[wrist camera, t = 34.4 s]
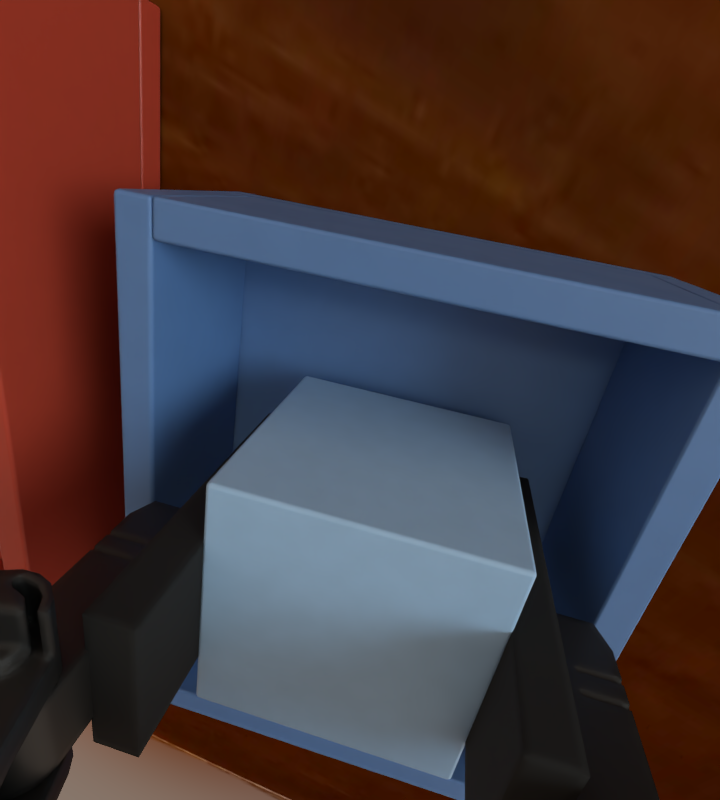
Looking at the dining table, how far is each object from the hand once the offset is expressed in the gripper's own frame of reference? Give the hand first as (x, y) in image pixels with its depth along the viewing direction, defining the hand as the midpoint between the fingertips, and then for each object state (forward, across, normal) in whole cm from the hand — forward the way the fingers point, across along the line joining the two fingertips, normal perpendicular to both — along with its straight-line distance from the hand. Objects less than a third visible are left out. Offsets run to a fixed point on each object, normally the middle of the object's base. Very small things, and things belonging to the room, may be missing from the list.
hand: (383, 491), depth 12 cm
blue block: (0, 0, 0) cm, 0 cm away
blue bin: (+2, 0, 0) cm, 2 cm away
